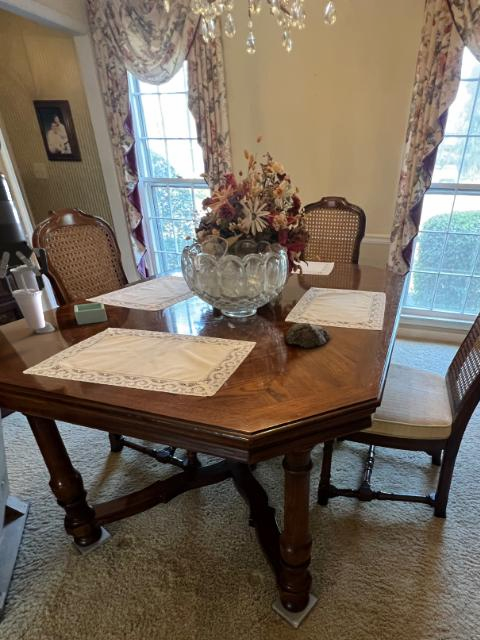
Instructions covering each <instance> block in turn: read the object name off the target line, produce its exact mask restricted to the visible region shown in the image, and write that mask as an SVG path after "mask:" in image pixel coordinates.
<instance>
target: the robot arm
mask: <svg viewBox="0 0 480 640" xmlns="http://www.w3.org/2000/svg"><path fill="white" fill-rule="evenodd" d="M0 151H2V141H1V140H0ZM11 188H12V187H11V185H10V182H9V179H8V178H7V176H6V174H5V173H4V172H2V171H1V170H0V261H1V262H0V283H1V286H2V289H3V291H4V292H7V294H12V292H13V289H12V287H11V283H10V279H9V277H8V276H7V272H8V268H9V266H10V267H14V266H26V267H28V268H29V269H31V270H32V271H33V272H34V274H35V275H36V276H35V278H36V281H37V285H38V288H39V291H42V292H43V291H44V289H45V287H46V285H45V282H44V278H43V275H44V274H47V273H49V264H48V258H47V251H46V249H45V248H44V247H32V246H31V245H30V242H29V240H28V237H27V233H26V230H25V227H24V223H23V217H22V216H21V213H20V210H19V208H18V206H17V204H16V201H15V198H14V195H13V192H12V189H11ZM33 253H34V254H35V255H36V257H38V258H39V259H40V265H41V268H39V267H38V266H37V265H36V264H35V262H34V261H33V260H32V259H31V257H32V255H33ZM38 268H39V269H38Z"/></svg>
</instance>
